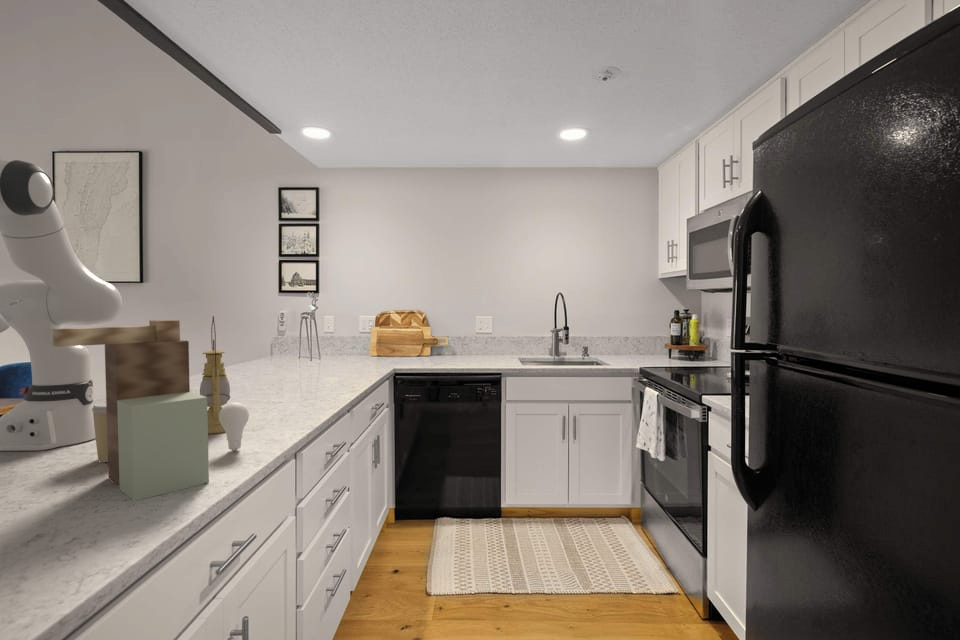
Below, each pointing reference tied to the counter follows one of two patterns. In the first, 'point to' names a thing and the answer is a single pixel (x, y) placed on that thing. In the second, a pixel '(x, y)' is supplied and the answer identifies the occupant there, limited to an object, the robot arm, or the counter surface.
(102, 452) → the coffee cup
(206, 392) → the lantern
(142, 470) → the sage step
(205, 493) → the counter surface
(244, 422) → the lightbulb
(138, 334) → the beech mallet
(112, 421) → the walnut shelf
